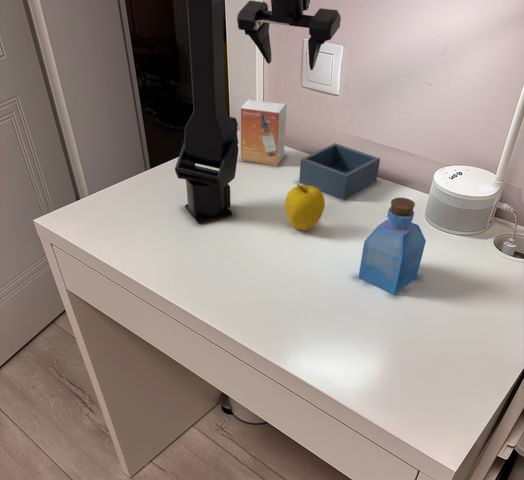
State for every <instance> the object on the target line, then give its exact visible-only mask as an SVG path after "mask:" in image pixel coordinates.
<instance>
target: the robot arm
mask: <svg viewBox="0 0 524 480" xmlns="http://www.w3.org/2000/svg"><path fill="white" fill-rule="evenodd" d="M185 1H186V6H187V7H186V8H187V23H188V39H189V41H188V42H189V56H190V72H191V73H190V74H191V88H192V89H191V91H192V105H193V107H192V108H193V109H192V114H191V115H190V117H189V119H188V121H187V124H186V125H185V127H184V139H183V140H184V141H183V143H182V146H181V149H180V152H179V156H178V159H177V161H176V164H175V167H174V170H175V175H176V177H177V179H180V180H185V185H186V196H187V197H186V198H187V204H185V205H184V209H185V210H186V211H187V213H188V214H189V215H190V216H191V217H192V218H193V220H194V221H195V222H196V223H197V224H204V223H208V222H212V221H215V220H220V219H225V218H229V217H232V216H233V211H232V210H231V209H230V208H231V206H232V204H231V186H230V183H231V182H232V181H233V180H234V179H235V178H236V172H237V166H238V165H237V164H238V159H239V145H238V144H239V139H238V126H239V125H238V121H237V118H236V117H231V116H230V115H229V114H228V111H227V110H226V97H225V96H226V91H225V90H226V89H225V88H226V87H225V86H226V85H225V84H226V83H225V49H224V48H225V46H224V45H225V44H224V7H223V6H224V0H185ZM310 4H311V3H310V0H270V8H271V10H269V4H267V2H266V1H258V0H249V1H247V3H246V4H245V5H243V7H242V8H241V9H240V10H239V12H238V13H237V16H236V22H237V29H238V30H239V31H244V34H245V35H246V36H249V38H250V39H251V40H252V42H253V43H254V44H255V45H256V47H257V48H258V50H259V52H260V54H261V56H262V57H263V58H264V60H265V62H266V63H267V64H268V65H270V64H271V63H272V46H271V40H270V39H271V38H270V24H273V25H281V26H288V27H289V26H291V27H297V28H305V29H308V35H309V36H310V37H309V38H308V40H307V48H308V49H307V50H308V65H309V70H310V71H313V70H314V69H315V66H316V62H317V59H318V56H319V53H320V50H321V47H322V45H324V44H325V43H326V42H327V41H330V40H332V38H333V37H334V35H336V33H337V31H338V30H339V29H340V27H341V26H340V22H341V21H342V18H341V17H342V15H341V14H340V12H339V11H338V10H337V9H332V8H331V9H328V8H320V7H319V8H318V10H317V11H316V13H315V14H314V15H308V14H304V11H305V12H306V11H308V10H309V8H310ZM199 165H200V166H199ZM204 166H205V167H204ZM209 167H210V168H209ZM212 168H215V169H212Z"/></svg>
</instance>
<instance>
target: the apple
mask: <svg viewBox="0 0 524 480" xmlns="http://www.w3.org/2000/svg"><path fill="white" fill-rule="evenodd" d="M325 202H326V200H325V196H324V193H323V192H322V191H320V190H319V189H318V188H316V187H314V186H309V185H305V184H299V183H297V184H296V186H294V187H292V188H290V189H289V191H288V192H287V193H286V197H285V200H284V212H285V215H286V219H287V220H288V222H289V224H290V225H291V227H292V228H294V229H296V230H301V231H308V230H310V229H311V228H313V227H314V226H315V225H316V224H317V223H318V222H319V221H320V219H321V217H322V216H323V214H324V210H325V205H326V203H325Z"/></svg>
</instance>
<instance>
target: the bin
mask: <svg viewBox="0 0 524 480" xmlns="http://www.w3.org/2000/svg"><path fill="white" fill-rule="evenodd" d="M380 161H381V158H380V157H377V156H374V155H371V154H368V153H365V152H362V151H359V150H357V149H354V148H350V147H348V146H345V145H341V144H339V143H336V142H334V143H332V144H330V145H328V146H325V147H323V148H321V149H319V150H316V151H315V152H313V153H311V154H308V155H307V156H304V157H302V158H300V162H299V163H300V164H299V179H298V180H299V181H298V182H299V184H301V185H309V186H314V187H316V188H318V189H319V190H320V191H321V192H322V193H325V194H327V195H329V196H331V197H334V198H338V199H340V200H342V201H346V200H347V199H349V198H351V197H352V196H355V195H356V194H358V193H359V192H362V191H363V190H365V189H366V188H368V187H370V186H372V185H373V184H375V183H376V182H377V180H378V175H379V169H380V163H381V162H380Z"/></svg>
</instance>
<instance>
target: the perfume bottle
mask: <svg viewBox="0 0 524 480" xmlns="http://www.w3.org/2000/svg"><path fill="white" fill-rule="evenodd" d="M415 206H416V203H415V201H413V200H412V199H410V198H407V197H394V198H393V199H392V200H391V201H390V206H389V208H388V211H387V215H386V218H387V219H385V220H384V221H382V222H381V223H380V224H378V225H377V226H376V227H375V228H374V230H373V231H372V232H371V233H370V234H369V235H368V236H367V237H366V239H365V240H364V241H363V245H362V252H361V258H360V264H359V265H360V266H359V272H358V279H361V280H362V281H365V282H367V283H368V284H370V285H373V286H374V287H377V288H379V289H381V291H382V290H383V291H385V292H387V293H388V294H391V295H393V296H395V295H396V294H398V293H399V292H400V291H401V290H403V289H404V288H405V287H406V286H407V285H410V283H412V282H413V281H414V280H416V278H417V277H418V273H419V271H420V266H421V261H422V258H423V253H424V251H425V250H424V249H425V246H426V242H427V241H426V238H425V235H424V234H423V231H422V230H421V227H420V225H419V224H417V223H414V222H413V220H414V216H415V211H414V208H415Z"/></svg>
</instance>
